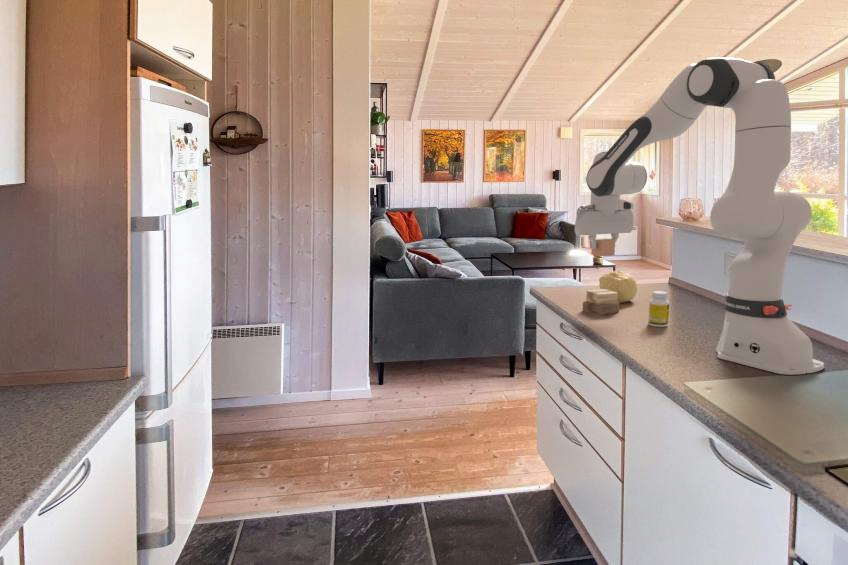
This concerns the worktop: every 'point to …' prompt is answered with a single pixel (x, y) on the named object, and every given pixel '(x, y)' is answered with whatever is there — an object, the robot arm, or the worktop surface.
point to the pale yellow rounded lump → (619, 285)
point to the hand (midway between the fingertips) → (603, 248)
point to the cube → (604, 247)
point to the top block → (602, 297)
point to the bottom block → (600, 308)
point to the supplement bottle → (658, 309)
